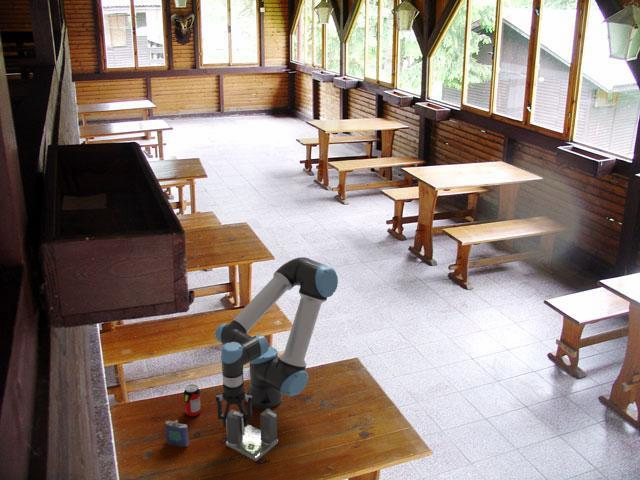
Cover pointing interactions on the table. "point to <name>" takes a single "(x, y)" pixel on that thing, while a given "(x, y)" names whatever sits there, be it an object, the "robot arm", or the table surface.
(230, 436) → the grey upright post
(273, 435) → the grey tall block
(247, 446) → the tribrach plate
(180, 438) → the flask
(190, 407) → the beverage can
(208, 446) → the table surface
